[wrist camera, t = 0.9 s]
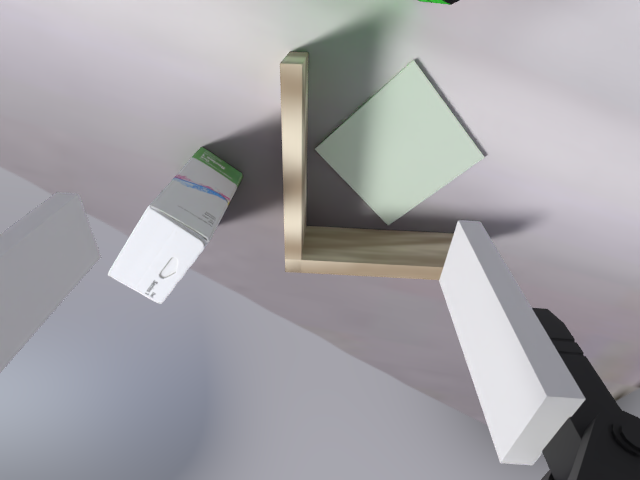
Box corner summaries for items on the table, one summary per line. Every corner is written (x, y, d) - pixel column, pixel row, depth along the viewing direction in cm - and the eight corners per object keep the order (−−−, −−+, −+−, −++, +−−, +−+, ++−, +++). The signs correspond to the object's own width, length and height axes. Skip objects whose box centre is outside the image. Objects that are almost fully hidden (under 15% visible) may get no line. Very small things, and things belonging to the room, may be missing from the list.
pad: (315, 148, 34) (314, 149, 34) (413, 59, 30) (413, 60, 30) (387, 224, 39) (388, 225, 38) (483, 156, 34) (484, 157, 34)
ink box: (201, 143, 35) (146, 203, 25) (245, 174, 36) (211, 242, 27) (162, 205, 39) (102, 278, 29) (204, 231, 40) (161, 308, 30)
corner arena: (289, 51, 30) (280, 63, 25) (514, 60, 30) (549, 74, 25) (292, 237, 40) (285, 271, 35) (459, 245, 40) (477, 281, 35)
